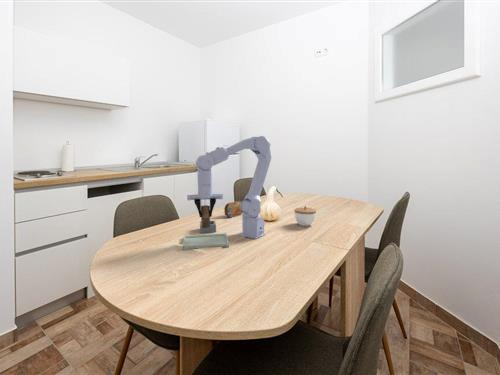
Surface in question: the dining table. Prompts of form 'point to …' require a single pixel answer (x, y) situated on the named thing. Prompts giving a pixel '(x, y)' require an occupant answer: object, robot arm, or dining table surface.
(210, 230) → the grey square socket
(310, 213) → the lidded jar
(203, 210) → the dowel
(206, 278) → the dining table surface
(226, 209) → the tin
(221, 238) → the tray
